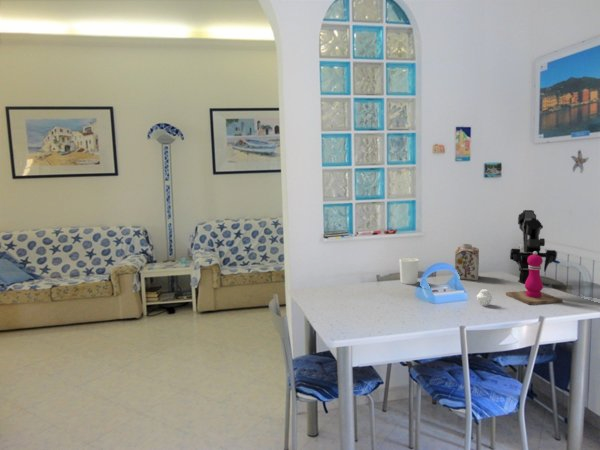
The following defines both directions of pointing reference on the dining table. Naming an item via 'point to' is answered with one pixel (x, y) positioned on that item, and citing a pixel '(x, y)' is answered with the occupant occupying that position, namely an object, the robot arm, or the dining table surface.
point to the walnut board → (533, 298)
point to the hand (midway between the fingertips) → (533, 270)
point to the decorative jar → (467, 262)
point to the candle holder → (408, 270)
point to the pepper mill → (534, 276)
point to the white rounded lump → (484, 297)
